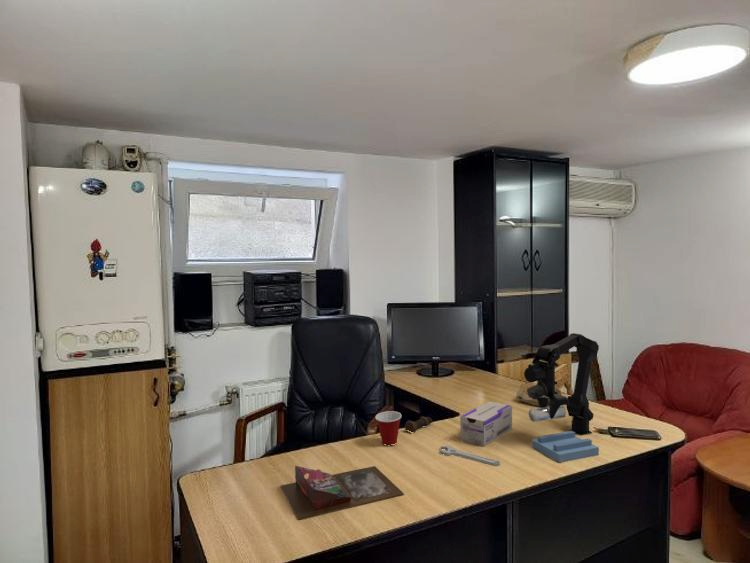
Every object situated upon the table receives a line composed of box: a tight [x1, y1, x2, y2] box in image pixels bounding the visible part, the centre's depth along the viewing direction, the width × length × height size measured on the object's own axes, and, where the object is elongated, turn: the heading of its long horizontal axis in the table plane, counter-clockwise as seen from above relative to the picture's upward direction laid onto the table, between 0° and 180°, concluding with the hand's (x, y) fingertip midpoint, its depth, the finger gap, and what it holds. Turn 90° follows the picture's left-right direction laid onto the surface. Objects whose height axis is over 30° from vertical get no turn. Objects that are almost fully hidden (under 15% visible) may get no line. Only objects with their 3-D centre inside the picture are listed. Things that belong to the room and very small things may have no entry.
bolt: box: [404, 416, 433, 432], centre depth 222 cm, size 6×5×15 cm
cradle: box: [531, 430, 600, 464], centre depth 193 cm, size 18×16×5 cm
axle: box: [528, 405, 567, 423], centre depth 201 cm, size 14×5×5 cm, turn 107°
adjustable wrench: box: [438, 445, 501, 467], centre depth 189 cm, size 25×6×2 cm, turn 48°
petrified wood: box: [515, 381, 562, 407], centre depth 252 cm, size 19×13×10 cm
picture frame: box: [280, 465, 405, 521], centre depth 165 cm, size 24×35×8 cm
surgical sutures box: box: [459, 401, 513, 448], centre depth 212 cm, size 25×11×11 cm, turn 139°
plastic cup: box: [374, 410, 402, 445], centre depth 204 cm, size 11×11×12 cm
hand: (547, 416), depth 202 cm, fingers closed on axle, 5 cm apart
